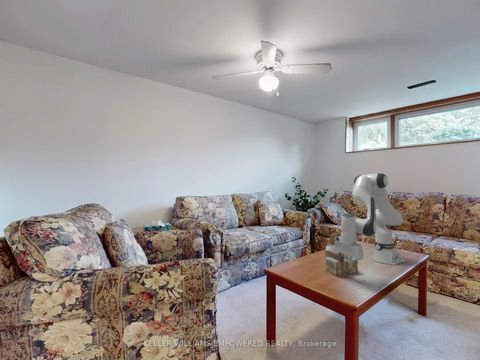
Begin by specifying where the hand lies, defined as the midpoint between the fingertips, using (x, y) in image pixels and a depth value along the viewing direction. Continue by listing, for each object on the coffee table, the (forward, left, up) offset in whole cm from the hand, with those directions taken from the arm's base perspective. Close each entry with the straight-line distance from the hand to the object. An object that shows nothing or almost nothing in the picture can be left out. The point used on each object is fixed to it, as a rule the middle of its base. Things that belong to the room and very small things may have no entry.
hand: (348, 262), depth 147 cm
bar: (0, -12, -1) cm, 12 cm away
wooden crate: (-5, -11, -11) cm, 16 cm away
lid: (-5, -11, -3) cm, 13 cm away
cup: (-11, -27, -11) cm, 32 cm away
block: (-21, -34, -11) cm, 42 cm away
